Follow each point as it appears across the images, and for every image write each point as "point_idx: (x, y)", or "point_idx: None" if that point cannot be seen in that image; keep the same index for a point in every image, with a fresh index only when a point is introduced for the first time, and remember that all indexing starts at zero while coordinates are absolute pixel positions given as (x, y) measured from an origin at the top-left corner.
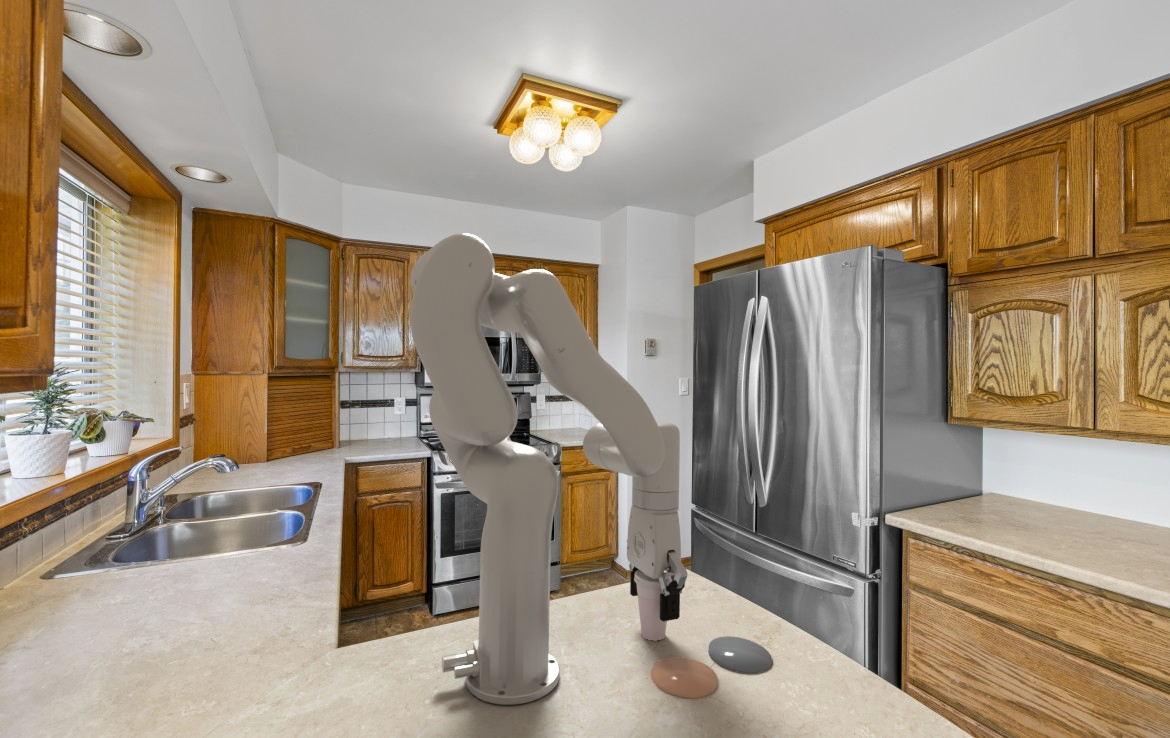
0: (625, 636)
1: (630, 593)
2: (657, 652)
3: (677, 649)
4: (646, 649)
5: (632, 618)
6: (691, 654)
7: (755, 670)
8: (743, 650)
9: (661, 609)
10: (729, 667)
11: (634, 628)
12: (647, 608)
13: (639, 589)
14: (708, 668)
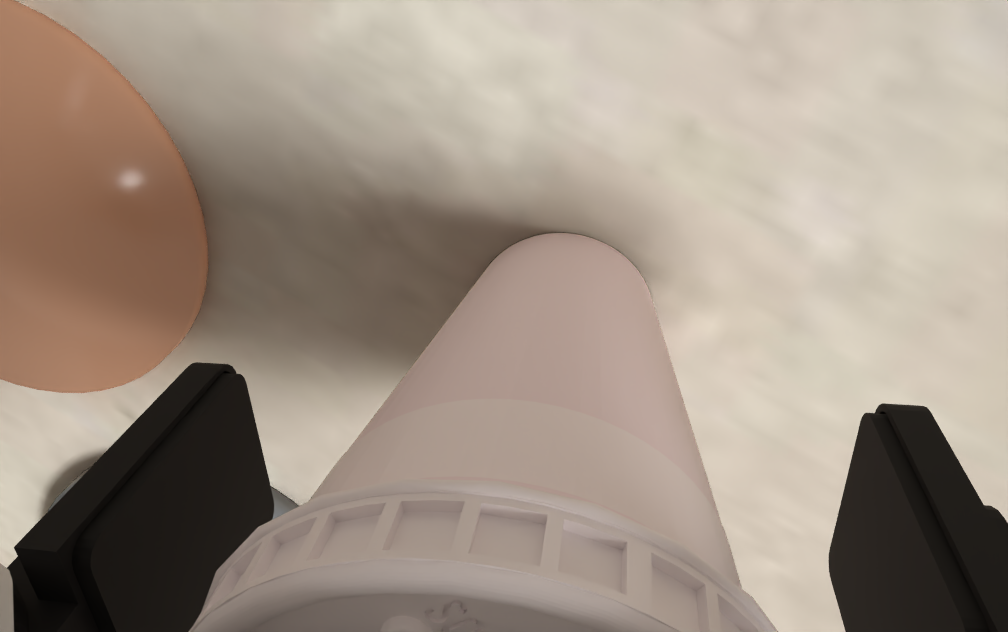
0: (633, 101)
1: (923, 410)
2: (324, 217)
3: (334, 356)
4: (382, 164)
5: (903, 314)
6: (261, 395)
7: None
8: None
9: (132, 425)
10: (80, 476)
11: (729, 242)
12: (422, 366)
13: (471, 444)
14: (61, 380)
